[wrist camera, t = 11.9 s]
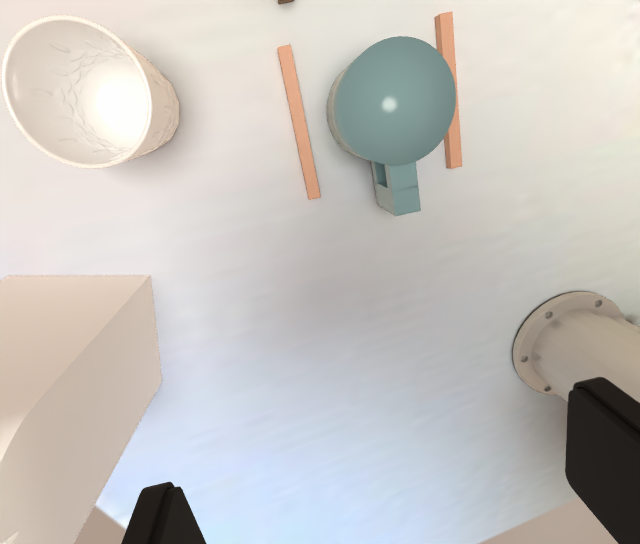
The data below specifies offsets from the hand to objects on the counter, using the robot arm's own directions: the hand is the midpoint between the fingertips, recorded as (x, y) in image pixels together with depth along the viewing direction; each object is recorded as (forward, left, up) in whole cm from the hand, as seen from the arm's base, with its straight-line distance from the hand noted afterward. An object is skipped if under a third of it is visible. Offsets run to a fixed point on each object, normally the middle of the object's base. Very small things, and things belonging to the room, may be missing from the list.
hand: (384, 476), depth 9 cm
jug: (-8, -6, -28) cm, 30 cm away
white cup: (+11, -12, -28) cm, 33 cm away
